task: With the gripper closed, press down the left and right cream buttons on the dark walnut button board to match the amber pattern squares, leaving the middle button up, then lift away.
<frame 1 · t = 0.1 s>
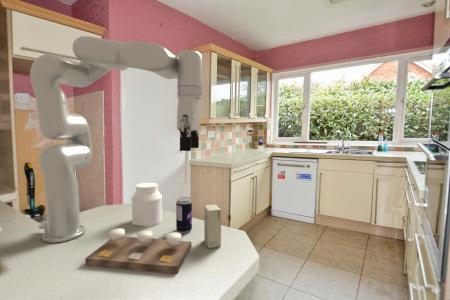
hand: (189, 149, 77), 31 cm above the countertop, tool pointing down, fingers open, 9 cm apart
button left: (117, 234, 75), point 5 cm above the countertop, slide at 0.0 cm
jar: (147, 222, 99), on the countertop
beverage can: (184, 231, 90), on the countertop
skincare box: (212, 243, 81), on the countertop
button board: (142, 255, 73), on the countertop
button middle: (145, 236, 74), point 5 cm above the countertop, slide at 0.0 cm
button right: (173, 238, 73), point 5 cm above the countertop, slide at 0.0 cm
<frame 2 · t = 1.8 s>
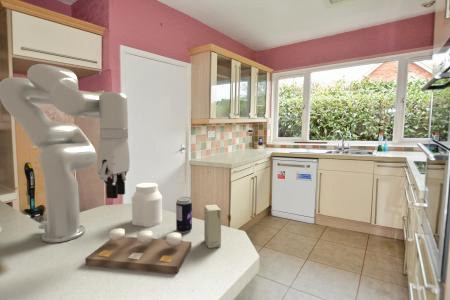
hand: (116, 195, 74), 17 cm above the countertop, tool pointing down, fingers open, 3 cm apart
nothing on the countertop moved.
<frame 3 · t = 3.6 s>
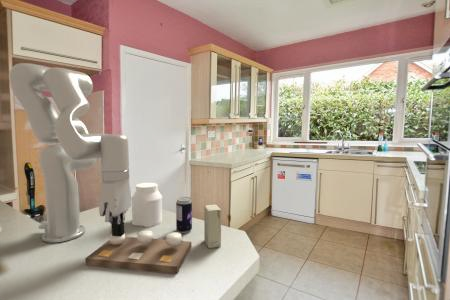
hand: (118, 234, 75), 5 cm above the countertop, tool pointing down, fingers closed
button left: (117, 237, 75), point 4 cm above the countertop, slide at 1.1 cm, touching gripper
everything else where it was.
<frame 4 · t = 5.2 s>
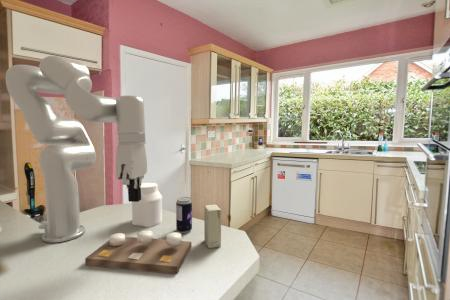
hand: (135, 200, 73), 16 cm above the countertop, tool pointing down, fingers closed
button left: (117, 239, 75), point 3 cm above the countertop, slide at 1.6 cm
everything else where it was.
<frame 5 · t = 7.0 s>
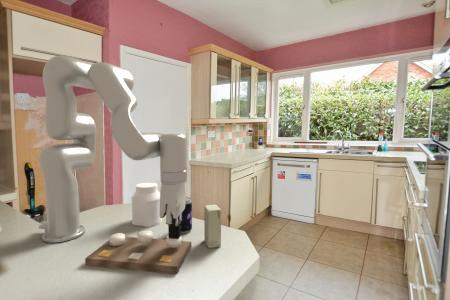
hand: (174, 237, 73), 5 cm above the countertop, tool pointing down, fingers closed
button right: (173, 240, 73), point 4 cm above the countertop, slide at 0.6 cm, touching gripper
everything else where it was.
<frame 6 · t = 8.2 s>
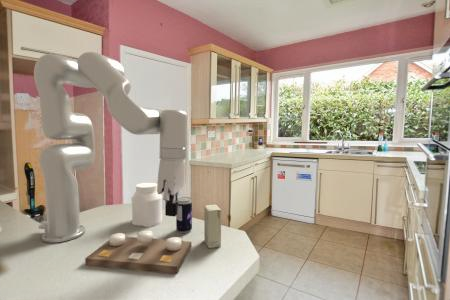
hand: (171, 215, 72), 12 cm above the countertop, tool pointing down, fingers closed
button right: (173, 243, 73), point 3 cm above the countertop, slide at 1.5 cm
everything else where it was.
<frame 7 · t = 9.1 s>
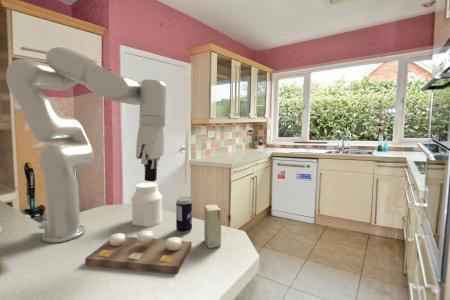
hand: (150, 180, 77), 21 cm above the countertop, tool pointing down, fingers closed
nothing on the countertop moved.
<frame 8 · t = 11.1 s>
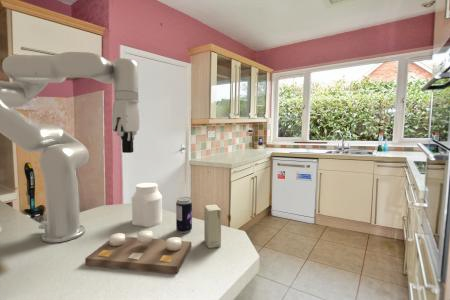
hand: (127, 152, 84), 29 cm above the countertop, tool pointing down, fingers closed
nothing on the countertop moved.
at the end: button left slide at 1.6 cm; button right slide at 1.5 cm; button middle slide at 0.0 cm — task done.
